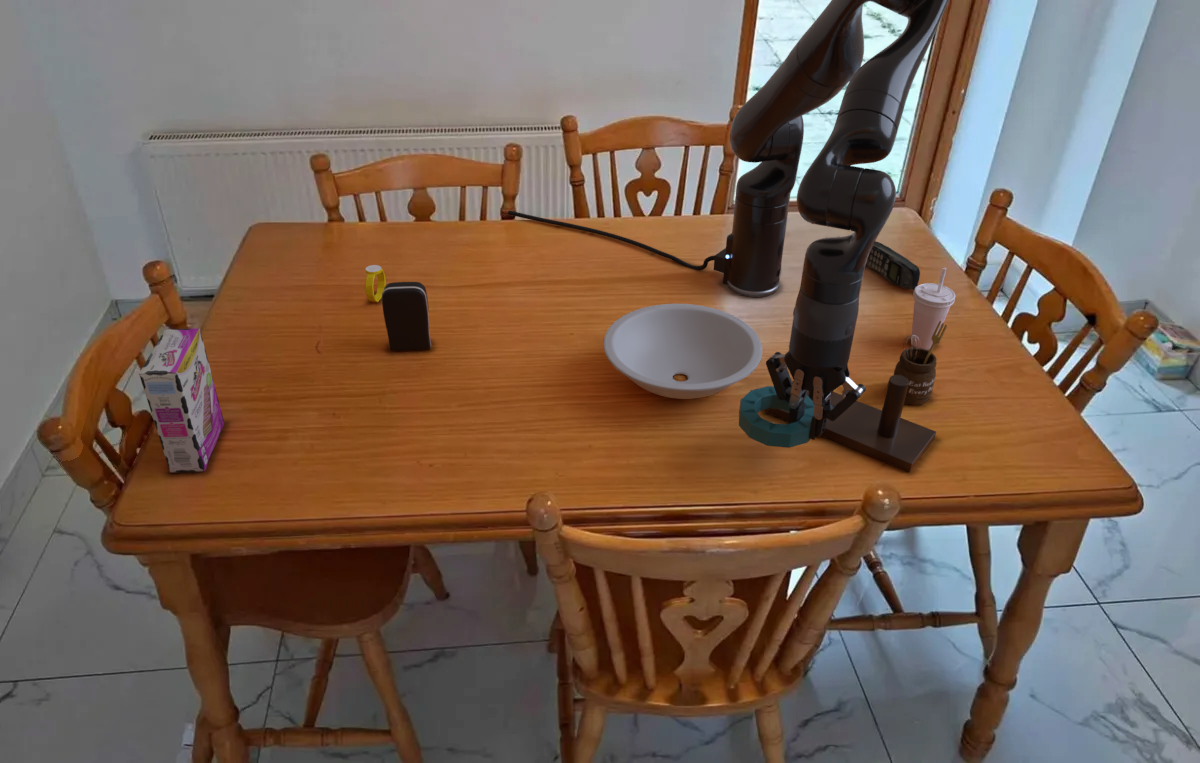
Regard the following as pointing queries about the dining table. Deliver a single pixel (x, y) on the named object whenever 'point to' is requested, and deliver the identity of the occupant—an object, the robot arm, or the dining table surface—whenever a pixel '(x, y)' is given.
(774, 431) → the teal faceted ring
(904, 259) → the mobile phone
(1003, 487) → the dining table surface
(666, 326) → the vessel sink basin
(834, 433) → the rack
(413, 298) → the battery charger
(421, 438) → the dining table surface
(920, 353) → the utensil holder
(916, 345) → the smoothie
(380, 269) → the watch
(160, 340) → the candy bar box
